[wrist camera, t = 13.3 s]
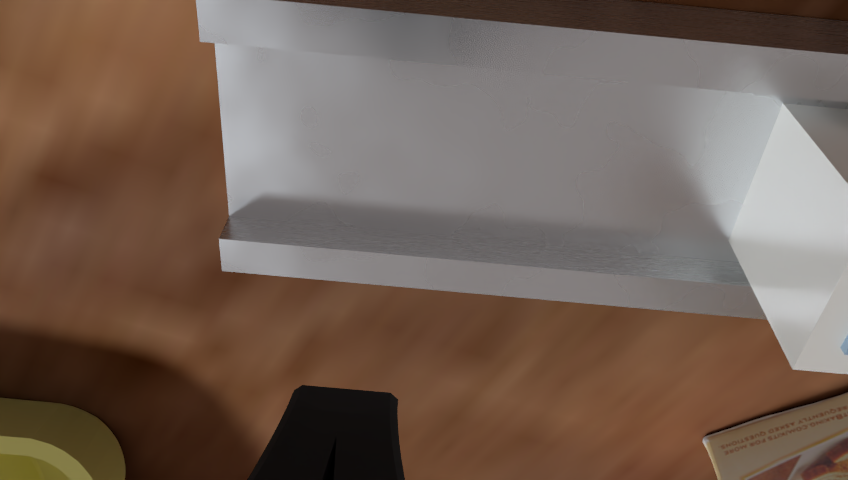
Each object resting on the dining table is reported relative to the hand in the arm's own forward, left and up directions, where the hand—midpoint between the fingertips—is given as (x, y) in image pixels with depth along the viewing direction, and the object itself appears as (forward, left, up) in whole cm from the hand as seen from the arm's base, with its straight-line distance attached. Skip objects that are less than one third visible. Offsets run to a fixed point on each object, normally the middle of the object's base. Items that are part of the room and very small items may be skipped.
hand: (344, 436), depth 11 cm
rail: (0, +6, -10) cm, 12 cm away
